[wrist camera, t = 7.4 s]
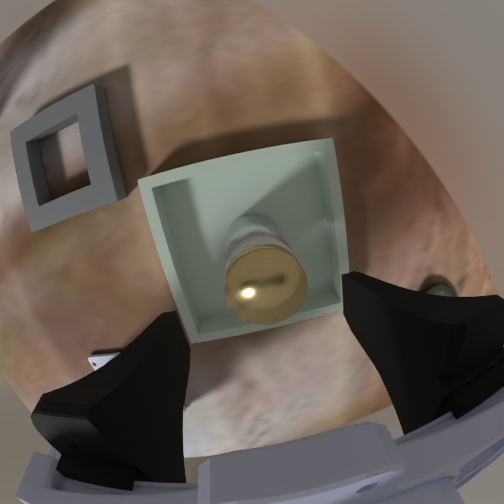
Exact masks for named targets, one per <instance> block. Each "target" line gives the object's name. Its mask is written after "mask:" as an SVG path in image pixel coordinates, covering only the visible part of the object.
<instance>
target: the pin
mask: <svg viewBox="0 0 504 504" xmlns="http://www.w3.org/2000/svg"><path fill="white" fill-rule="evenodd" d="M307 291H308V279H307V275H306V273H305V270H304V269H303V267H302V265H301V264H300V262H299V261H298V259H297V257H296V256H295V254H294V253H293V251H292V249H291V248H290V246H289V245H288V243H287V242H286V240H285V238H284V237H283V235H282V234H281V232H280V231H279V229H278V227H277V226H276V224H275V223H274V222H273V221H272V220H271V219H270V218H268V217H267V216H265V215H262V214H258V213H249V214H245V215H242V216H240V217H238V218H237V219H236V220H234V221H233V222H232V224H231V225H230V226H229V228H228V230H227V234H226V250H225V297H226V301H227V303H228V306H229V307H230V309H231V310H232V311H233V313H234V314H235V315H236V316H238V317H239V318H240V319H242V320H244V321H246V322H248V323H251V324H256V325H271V324H276V323H279V322H282V321H284V320H286V319H288V318H289V317H291V316H292V315H293V314H295V313H296V312H297V311H298V310H299V308H300V307H301V306H302V304H303V303H304V300H305V298H306V295H307Z"/></svg>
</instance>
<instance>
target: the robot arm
mask: <svg viewBox="0 0 504 504" xmlns="http://www.w3.org/2000/svg"><path fill="white" fill-rule="evenodd" d="M341 277H342V293H343V314H344V316H345V318H346V321H347V323H348V325H349V327H350V329H351V331H352V333H353V334H354V336H355V337H356V339H357V340H358V342H359V343H360V345H361V346H362V348H363V349H364V351H365V352H366V353H367V355H368V356H369V358H370V359H371V361H372V362H373V364H374V365H375V367H376V369H377V371H378V372H379V374H380V376H381V378H382V381H383V383H384V385H385V387H386V389H387V391H388V394H389V396H390V398H391V401H392V403H393V405H394V408H395V410H396V413H397V416H398V418H399V421H400V424H401V426H402V430H403V433H404V436H402V437H400V438H397V439H395V440H393V438H392V436H391V434H390V433H389V431H388V429H387V427H386V425H382V424H377V423H371V422H366V423H360V424H356V425H351V426H346V427H343V428H340V429H336V430H333V431H330V432H326V433H322V434H319V435H315V436H311V437H307V438H303V439H299V440H294V441H290V442H285V443H280V444H275V445H270V446H264V447H258V448H252V449H245V450H237V451H232V452H228V453H224V454H219V455H215V456H213V457H211V458H209V459H208V460H207V461H205V462H204V463H203V464H201V465H200V466H199V472H198V483H186V477H185V468H184V455H183V413H184V412H186V407H185V406H184V401H185V395H186V389H187V382H188V376H189V369H190V346H189V344H188V341H187V339H186V336H185V334H184V331H183V329H182V326H181V324H180V321H179V318H178V316H177V313H176V311H171V312H166V313H162V314H161V315H160V316H158V317H157V318H156V319H155V320H154V321H153V322H152V323H151V324H150V325H149V326H148V327H147V328H146V329H145V330H144V331H143V332H142V333H141V334H140V335H139V336H138V337H137V338H136V339H135V340H134V341H133V342H132V343H130V344H129V345H128V346H127V347H126V348H125V349H124V350H123V351H122V352H117V353H107V354H96V355H90V356H89V357H88V360H89V362H90V364H91V365H92V367H93V368H94V370H95V371H94V372H92V373H90V374H89V375H87V376H85V377H83V378H81V379H79V380H77V381H75V382H73V383H71V384H69V385H67V386H64V387H62V388H59V389H56V390H53V391H51V392H48V393H44V394H43V395H42V396H41V398H40V400H39V401H38V403H37V405H36V407H35V409H34V410H33V412H32V415H31V419H32V422H33V424H34V426H35V428H36V429H37V431H38V432H39V433H40V434H41V435H42V436H43V437H44V438H45V439H46V440H47V441H48V442H49V443H50V444H51V445H52V447H51V450H50V452H49V455H45V454H41V453H38V452H33V454H32V456H31V458H30V460H29V463H28V465H27V468H26V470H25V473H24V475H23V478H22V481H21V483H20V486H19V489H18V492H17V495H16V497H17V498H18V499H19V500H20V501H22V502H23V503H25V504H464V502H463V500H462V498H461V496H460V494H459V492H458V490H457V489H458V488H460V487H461V486H463V485H464V484H465V483H467V482H468V481H469V480H471V479H472V478H474V477H475V476H476V475H478V474H479V473H480V472H481V471H483V470H484V469H485V468H486V467H488V466H489V465H490V464H491V463H492V462H493V461H495V460H496V459H497V458H498V457H499V456H500V455H502V454H503V453H504V347H503V345H504V299H503V298H501V297H500V296H498V295H489V296H478V297H452V296H441V295H433V294H427V293H422V292H418V291H413V290H409V289H406V288H403V287H399V286H396V285H393V284H390V283H387V282H384V281H382V280H379V279H376V278H373V277H371V276H368V275H365V274H362V273H359V272H355V271H353V272H349V273H346V274H342V275H341ZM95 363H96V364H95Z"/></svg>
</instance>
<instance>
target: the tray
mask: <svg viewBox="0 0 504 504" xmlns="http://www.w3.org/2000/svg"><path fill="white" fill-rule="evenodd" d="M138 184H139V188H140V192H141V196H142V199H143V203H144V207H145V210H146V214H147V217H148V221H149V224H150V228H151V231H152V234H153V238H154V241H155V244H156V247H157V251H158V254H159V257H160V260H161V263H162V266H163V269H164V272H165V275H166V278H167V281H168V284H169V286H170V289H171V292H172V295H173V298H174V300H175V303H176V306H177V308H178V311H179V314H180V316H181V319H182V322H183V324H184V327H185V329H186V332H187V334H188V337H189V339H190V342H191V344H193V343H199V342H205V341H211V340H217V339H222V338H227V337H232V336H238V335H243V334H248V333H252V332H257V331H262V330H266V329H271V328H275V327H280V326H284V325H288V324H292V323H297V322H301V321H305V320H309V319H312V318H316V317H320V316H324V315H328V314H331V313H335V312H339V311H342V310H343V293H342V277H341V275H342V274H346V273H349V260H348V247H347V236H346V226H345V216H344V208H343V200H342V192H341V185H340V178H339V171H338V165H337V158H336V152H335V147H334V141H333V138H327V139H319V140H311V141H304V142H298V143H291V144H285V145H279V146H274V147H268V148H263V149H257V150H252V151H247V152H242V153H238V154H233V155H228V156H224V157H219V158H215V159H211V160H207V161H203V162H199V163H195V164H191V165H187V166H183V167H179V168H176V169H172V170H168V171H165V172H161V173H158V174H154V175H151V176H148V177H145V178H141V179H138ZM249 213H258V214H262V215H265V216H267V217H268V218H270V219H271V220H272V221H273V222H274V223H275V224H276V226H277V227H278V229H279V231H280V232H281V234H282V235H283V237H284V238H285V240H286V242H287V243H288V245H289V246H290V248H291V249H292V251H293V253H294V254H295V256H296V257H297V259H298V261H299V262H300V264H301V265H302V267H303V269H304V270H305V273H306V275H307V279H308V291H307V295H306V298H305V300H304V303H303V304H302V306H301V307H300V308H299V310H298V311H297V312H296V313H295V314H293V315H292V316H291V317H289V318H288V319H286V320H284V321H282V322H279V323H276V324H271V325H256V324H251V323H248V322H246V321H244V320H242V319H240V318H239V317H238V316H236V315H235V314H234V313H233V311H232V310H231V309H230V307H229V306H228V303H227V301H226V297H225V250H226V234H227V230H228V228H229V226H230V225H231V224H232V222H233V221H234V220H236V219H237V218H238V217H240V216H242V215H245V214H249Z"/></svg>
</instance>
